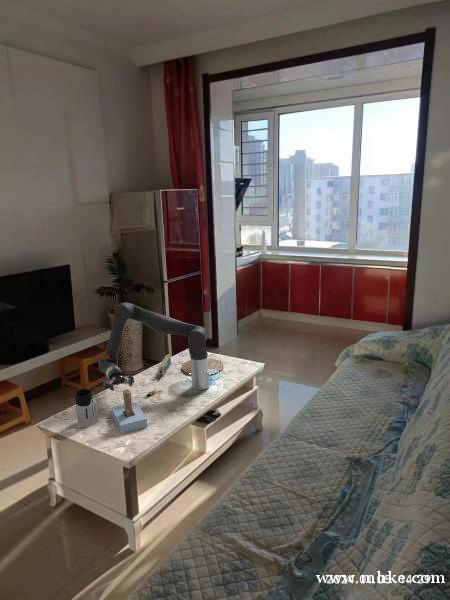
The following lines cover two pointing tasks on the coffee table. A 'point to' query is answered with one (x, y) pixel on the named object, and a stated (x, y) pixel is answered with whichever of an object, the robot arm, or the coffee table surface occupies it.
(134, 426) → the end cap
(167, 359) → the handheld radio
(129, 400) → the slat
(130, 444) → the coffee table surface
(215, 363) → the trivet
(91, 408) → the white travel mug
